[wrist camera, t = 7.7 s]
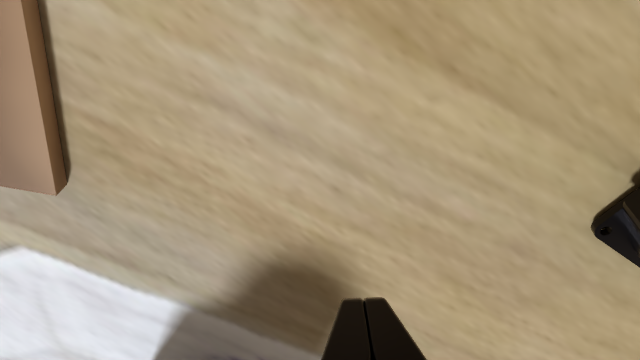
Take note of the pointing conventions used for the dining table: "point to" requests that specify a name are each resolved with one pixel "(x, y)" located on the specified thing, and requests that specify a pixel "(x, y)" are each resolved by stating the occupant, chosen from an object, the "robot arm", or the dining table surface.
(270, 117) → the dining table surface
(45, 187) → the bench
